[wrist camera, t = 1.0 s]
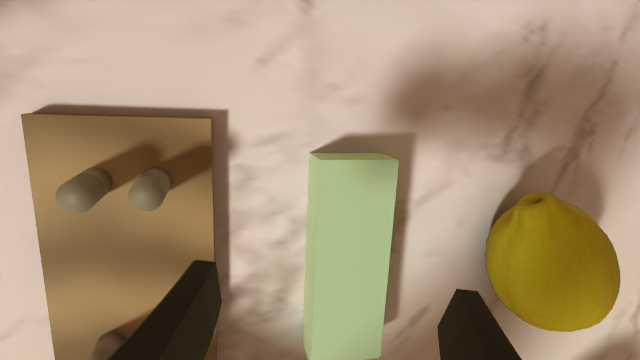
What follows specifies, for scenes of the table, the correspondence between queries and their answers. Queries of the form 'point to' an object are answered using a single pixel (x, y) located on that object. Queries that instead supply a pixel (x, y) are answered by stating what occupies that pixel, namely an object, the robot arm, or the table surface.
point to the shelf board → (347, 253)
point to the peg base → (116, 219)
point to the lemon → (552, 264)
